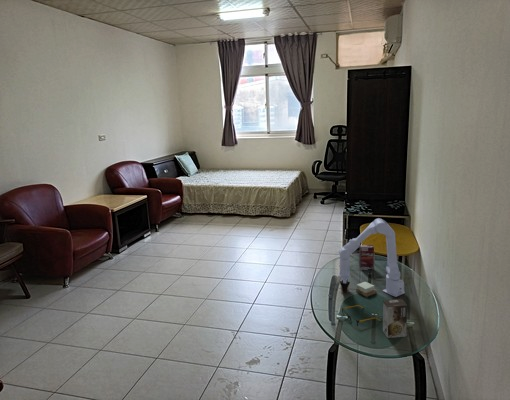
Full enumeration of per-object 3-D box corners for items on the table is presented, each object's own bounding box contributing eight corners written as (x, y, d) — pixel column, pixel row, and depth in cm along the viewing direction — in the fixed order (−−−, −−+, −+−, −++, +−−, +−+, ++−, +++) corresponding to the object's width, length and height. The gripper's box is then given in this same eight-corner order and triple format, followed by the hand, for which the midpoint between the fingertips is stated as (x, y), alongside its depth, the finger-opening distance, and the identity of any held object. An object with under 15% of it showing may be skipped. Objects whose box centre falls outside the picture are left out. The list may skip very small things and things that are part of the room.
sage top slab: (374, 289, 220) (374, 285, 219) (365, 293, 216) (365, 288, 216) (365, 285, 226) (365, 281, 225) (356, 288, 222) (356, 284, 222)
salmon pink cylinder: (350, 292, 223) (350, 285, 222) (344, 294, 220) (344, 287, 219) (344, 289, 226) (344, 283, 225) (339, 291, 224) (339, 285, 223)
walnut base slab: (376, 293, 220) (376, 289, 220) (366, 297, 216) (366, 293, 215) (365, 288, 227) (365, 284, 226) (356, 292, 223) (356, 288, 222)
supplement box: (360, 270, 251) (360, 247, 248) (359, 267, 256) (359, 245, 253) (373, 269, 251) (374, 247, 248) (371, 267, 256) (372, 244, 252)
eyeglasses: (340, 315, 199) (340, 308, 198) (363, 308, 204) (363, 302, 203) (356, 328, 186) (356, 321, 185) (380, 321, 191) (381, 314, 190)
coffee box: (400, 329, 182) (401, 298, 179) (406, 336, 176) (407, 305, 173) (382, 330, 182) (382, 299, 179) (387, 338, 176) (388, 306, 172)
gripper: (337, 262, 228) (337, 283, 231) (337, 272, 214) (337, 294, 217) (349, 263, 226) (349, 284, 229) (350, 273, 212) (350, 295, 215)
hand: (344, 289), depth 223 cm, fingers open, 7 cm apart
